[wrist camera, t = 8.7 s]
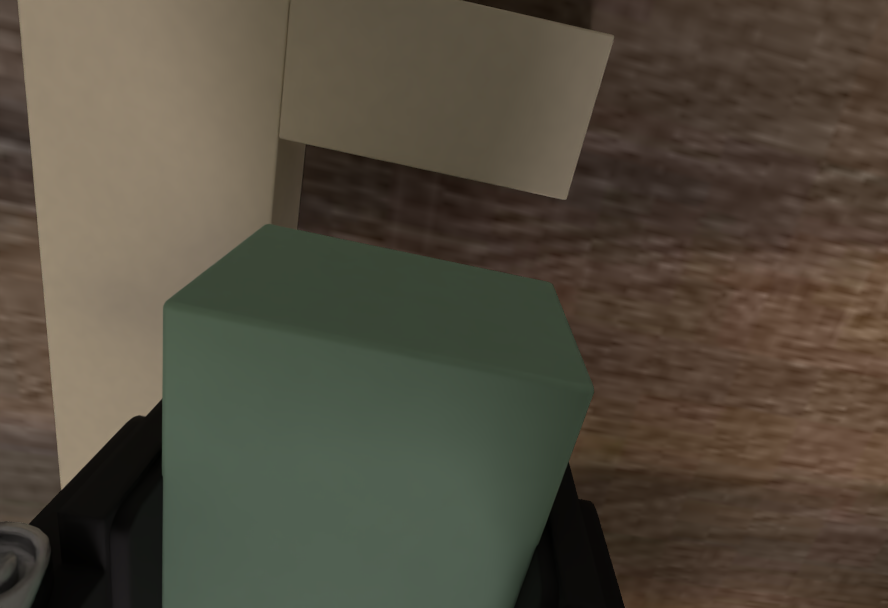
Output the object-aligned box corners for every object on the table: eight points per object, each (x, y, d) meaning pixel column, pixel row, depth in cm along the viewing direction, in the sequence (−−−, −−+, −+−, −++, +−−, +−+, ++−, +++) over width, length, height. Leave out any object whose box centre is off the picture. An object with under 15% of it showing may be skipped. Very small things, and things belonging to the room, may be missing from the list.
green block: (264, 221, 9) (158, 302, 6) (553, 281, 10) (598, 389, 6) (237, 563, 12) (157, 736, 9) (456, 602, 13) (452, 784, 9)
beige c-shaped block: (88, -75, 13) (6, -105, 11) (590, 40, 13) (615, 35, 11) (111, 466, 19) (62, 521, 17) (452, 530, 20) (450, 592, 17)
